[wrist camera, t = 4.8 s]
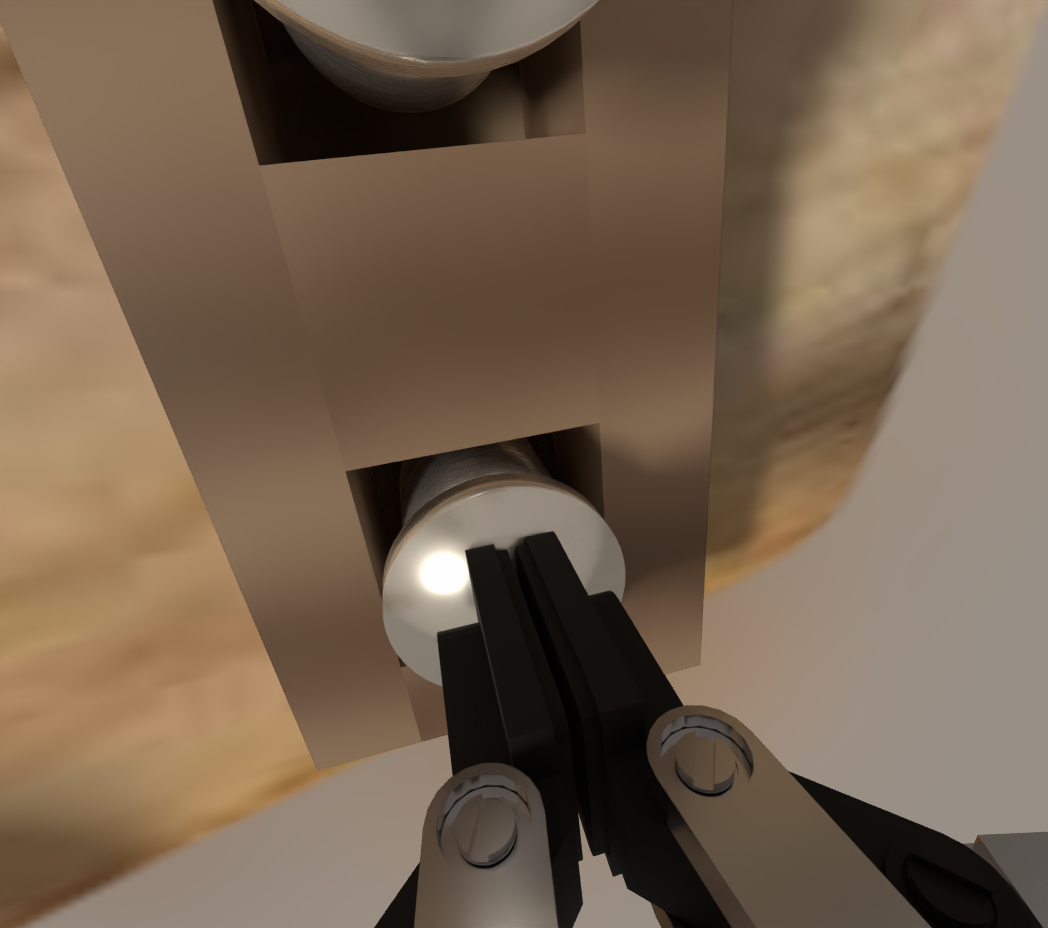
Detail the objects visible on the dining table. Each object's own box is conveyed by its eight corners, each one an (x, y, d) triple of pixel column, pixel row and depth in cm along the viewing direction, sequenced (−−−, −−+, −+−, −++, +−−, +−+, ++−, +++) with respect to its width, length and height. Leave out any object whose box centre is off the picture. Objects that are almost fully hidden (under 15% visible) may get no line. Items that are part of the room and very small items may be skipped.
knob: (365, 417, 13) (354, 522, 9) (544, 385, 14) (622, 466, 9) (403, 567, 15) (411, 718, 11) (558, 533, 16) (627, 660, 11)
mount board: (-34, -387, 8) (-392, -904, 4) (622, -352, 9) (767, -703, 6) (332, 651, 16) (317, 770, 13) (638, 577, 18) (700, 664, 14)
